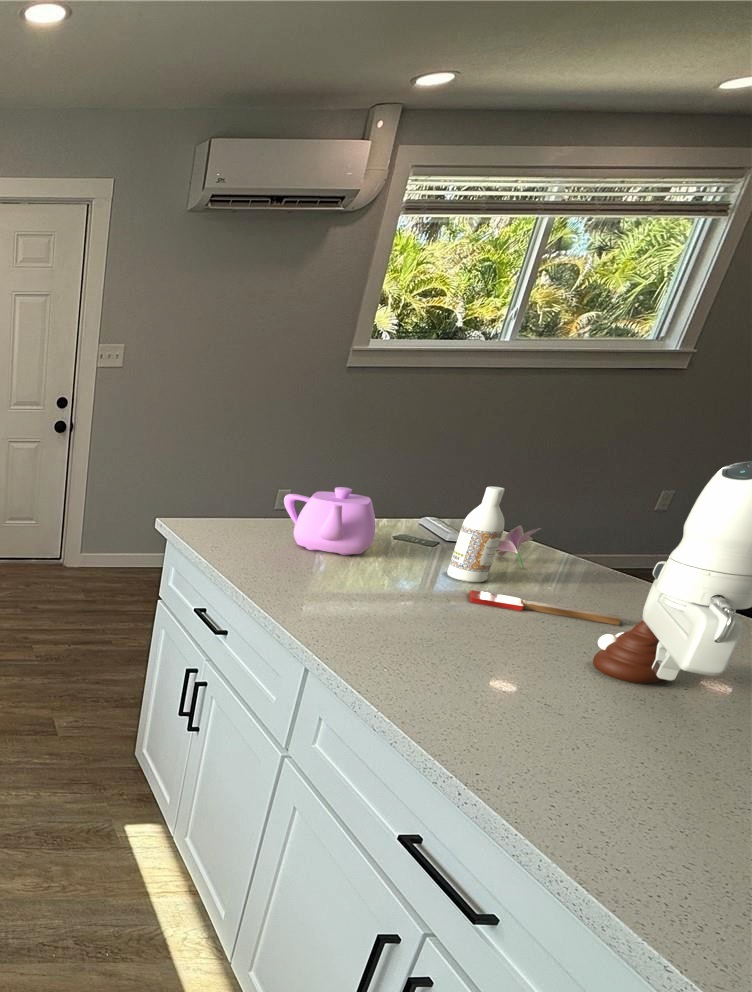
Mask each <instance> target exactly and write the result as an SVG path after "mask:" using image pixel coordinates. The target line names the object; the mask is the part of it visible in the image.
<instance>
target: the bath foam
mask: <svg viewBox="0 0 752 992" xmlns="http://www.w3.org/2000/svg"><path fill="white" fill-rule="evenodd" d="M504 492H505V488H504V487H500V486H487V487H486V488H485V491H484V495H483V498H482V501H481V503H480V504H479V505H478V506H476V507H475V508H474V509H473V510H471V511H470V512H469V513H468V514H467V516H466V517H465V518H464V520H463V523H462V524H461V527H460V530H459V534H458V537H457V540H456V543H455V545H454V549H453V552H452V555H451V558H450V561H449V565H448V568H447V571H446V573H447V576H448V577H450V578H452V579H454V580H457V581H461V582H466V583H467V582H468V583H482V582H485V581H486V580H487V578H488V576H489V573H490V570H491V568H492V564H493V561H494V559H495V556H496V553H497V552H496V550H497V547H498V545H499V542H500V541H501V540H502V536H503V533H504V530H505V525H506V524H505V517H504V515H503V512H502V510H501V507H500V504H501V503H502V502H501V501H502V498H503V496H504Z"/></svg>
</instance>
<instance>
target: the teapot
mask: <svg viewBox="0 0 752 992" xmlns="http://www.w3.org/2000/svg"><path fill="white" fill-rule="evenodd" d="M352 491H353V489H352V488H350V487H345V486H343V487H342V486H338V487H337V486H336V487H334V491H323V490H322V491H321V490H320V491H316V492H315V493H313V494H312V496H311V497H309V496H306V495H302V494H298V493H287V494H286V495H285V496H284V498H283V504H284V507H285V510H286V512H287V514H288V515H289V517H290V519H291V520H292V521H293V523H294V528H293V538H294V541H295V543H296V544H297V545H298V546H301V547H304V548H305V549H307V550H310V551H322V552H328V553H335V554H339V555H342V556H351V555H361V554H363V553H364V552H366V550H367V549H369V547H370V546H371V545H372V544H373V542H374V540H375V536H376V535H375V534H376V515H375V511H374V504H373V502H372V501H373V500H372V499H371V498H370V496H366V495H361V494H355V493H352ZM296 501H301V502H305V505H304V506H303V508H302V509H301V510H300V513H299V515H297V513H296V509H295V502H296Z"/></svg>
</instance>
